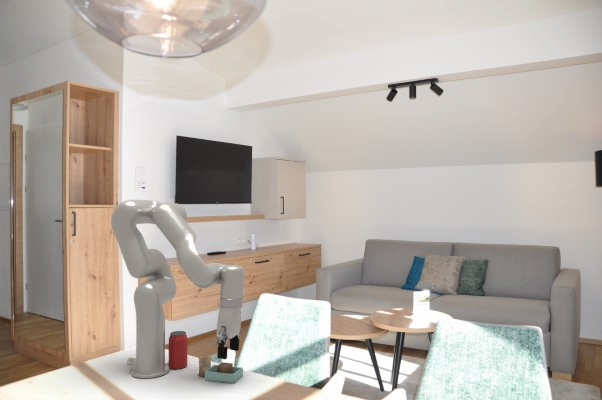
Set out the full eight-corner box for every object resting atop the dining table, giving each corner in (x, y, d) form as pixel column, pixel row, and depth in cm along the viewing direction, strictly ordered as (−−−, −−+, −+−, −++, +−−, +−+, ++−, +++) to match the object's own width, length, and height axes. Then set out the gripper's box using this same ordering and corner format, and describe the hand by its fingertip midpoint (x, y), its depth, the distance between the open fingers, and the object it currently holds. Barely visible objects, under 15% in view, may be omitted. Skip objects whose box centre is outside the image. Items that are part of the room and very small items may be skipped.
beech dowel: (196, 376, 164) (196, 358, 164) (202, 372, 168) (202, 354, 168) (207, 377, 163) (207, 359, 163) (212, 373, 167) (212, 355, 167)
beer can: (182, 370, 170) (182, 335, 170) (165, 369, 171) (165, 334, 171) (190, 364, 176) (190, 331, 176) (173, 363, 178) (173, 330, 178)
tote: (204, 380, 160) (204, 371, 160) (214, 373, 167) (214, 364, 167) (234, 383, 157) (234, 374, 157) (242, 376, 164) (242, 367, 164)
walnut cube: (227, 379, 160) (216, 378, 161) (232, 375, 163) (221, 374, 164) (227, 367, 160) (216, 366, 161) (232, 363, 163) (221, 362, 164)
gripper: (231, 296, 171) (228, 345, 171) (209, 306, 154) (206, 360, 154) (251, 299, 169) (248, 348, 169) (231, 309, 152) (228, 363, 152)
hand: (228, 354), depth 162 cm, fingers open, 9 cm apart
